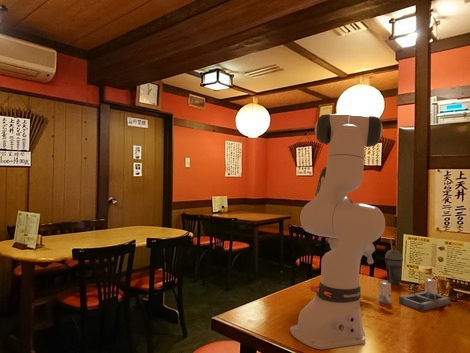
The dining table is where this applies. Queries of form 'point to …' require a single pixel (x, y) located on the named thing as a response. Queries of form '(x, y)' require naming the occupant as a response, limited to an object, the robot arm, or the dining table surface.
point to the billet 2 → (431, 288)
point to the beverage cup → (393, 265)
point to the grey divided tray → (423, 301)
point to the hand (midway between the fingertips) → (363, 264)
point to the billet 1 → (384, 293)
